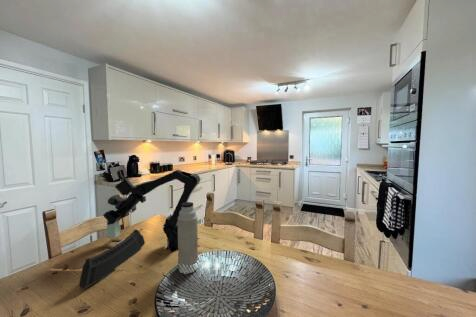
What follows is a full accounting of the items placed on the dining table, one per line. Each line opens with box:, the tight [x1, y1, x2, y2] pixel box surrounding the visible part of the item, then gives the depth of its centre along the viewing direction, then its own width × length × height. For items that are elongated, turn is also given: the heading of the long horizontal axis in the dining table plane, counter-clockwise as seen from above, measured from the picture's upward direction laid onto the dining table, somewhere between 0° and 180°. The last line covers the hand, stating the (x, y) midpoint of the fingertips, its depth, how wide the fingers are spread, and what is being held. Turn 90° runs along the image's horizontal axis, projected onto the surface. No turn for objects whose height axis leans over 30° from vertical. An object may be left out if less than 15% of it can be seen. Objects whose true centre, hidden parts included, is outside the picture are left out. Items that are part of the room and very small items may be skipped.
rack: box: [101, 238, 124, 249], centre depth 102 cm, size 6×8×2 cm
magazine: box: [78, 229, 146, 289], centre depth 84 cm, size 17×3×30 cm
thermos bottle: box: [177, 201, 199, 266], centre depth 83 cm, size 8×8×28 cm
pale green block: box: [106, 219, 121, 239], centre depth 102 cm, size 4×4×11 cm
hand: (110, 222), depth 102 cm, fingers closed on pale green block, 3 cm apart
